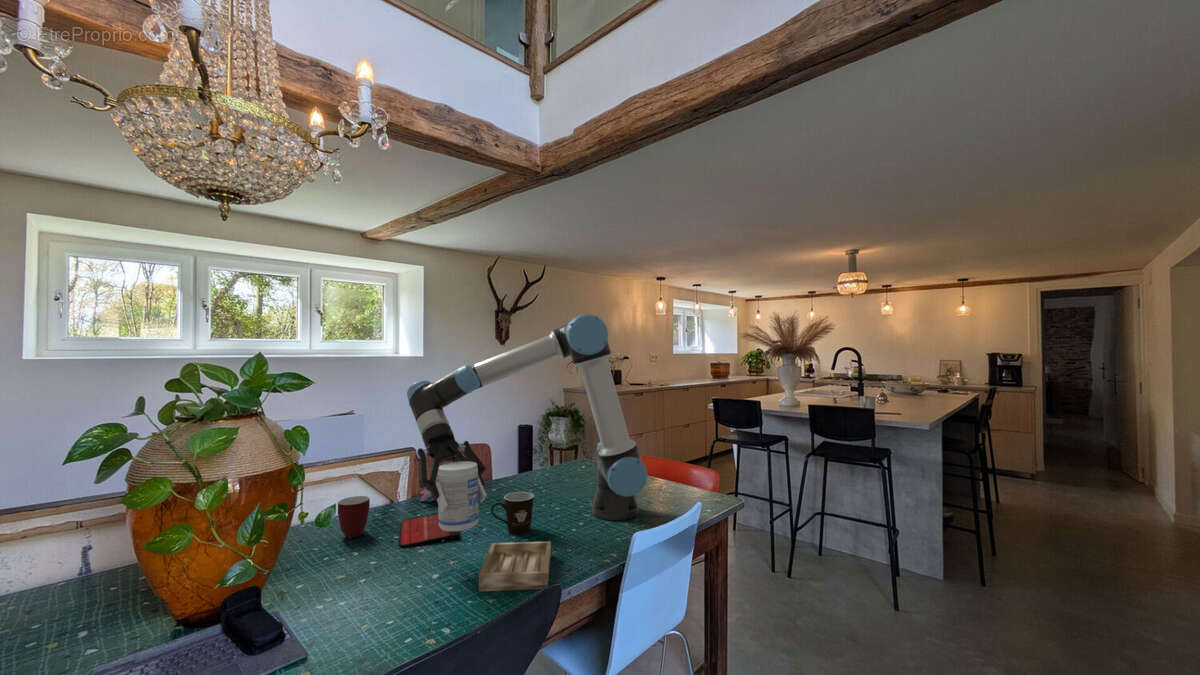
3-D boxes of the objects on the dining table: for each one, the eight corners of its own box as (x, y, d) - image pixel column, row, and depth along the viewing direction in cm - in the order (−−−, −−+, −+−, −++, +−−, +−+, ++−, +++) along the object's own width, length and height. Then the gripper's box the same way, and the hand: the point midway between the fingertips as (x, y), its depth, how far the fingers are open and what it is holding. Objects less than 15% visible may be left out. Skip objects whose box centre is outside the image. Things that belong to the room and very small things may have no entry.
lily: (457, 498, 169) (446, 473, 171) (461, 493, 159) (450, 468, 161) (424, 514, 163) (414, 489, 165) (427, 511, 153) (416, 484, 155)
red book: (454, 509, 148) (460, 533, 129) (454, 516, 148) (460, 541, 129) (400, 518, 143) (397, 545, 123) (400, 526, 142) (397, 553, 123)
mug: (339, 530, 136) (339, 496, 137) (369, 525, 140) (369, 492, 140) (336, 543, 127) (336, 506, 127) (369, 538, 130) (369, 502, 131)
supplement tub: (478, 530, 110) (477, 468, 111) (436, 535, 108) (435, 471, 108) (479, 516, 120) (478, 459, 120) (440, 520, 118) (440, 462, 118)
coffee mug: (537, 525, 139) (537, 492, 139) (529, 537, 130) (529, 501, 131) (499, 524, 140) (499, 491, 140) (489, 535, 131) (489, 500, 132)
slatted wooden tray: (550, 555, 119) (550, 541, 119) (547, 589, 102) (547, 572, 102) (492, 556, 118) (492, 543, 118) (478, 591, 101) (478, 575, 101)
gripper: (469, 433, 133) (499, 501, 121) (389, 445, 118) (414, 524, 106) (477, 416, 129) (509, 485, 117) (396, 427, 114) (424, 506, 102)
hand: (464, 503), depth 112 cm, fingers closed on supplement tub, 9 cm apart
